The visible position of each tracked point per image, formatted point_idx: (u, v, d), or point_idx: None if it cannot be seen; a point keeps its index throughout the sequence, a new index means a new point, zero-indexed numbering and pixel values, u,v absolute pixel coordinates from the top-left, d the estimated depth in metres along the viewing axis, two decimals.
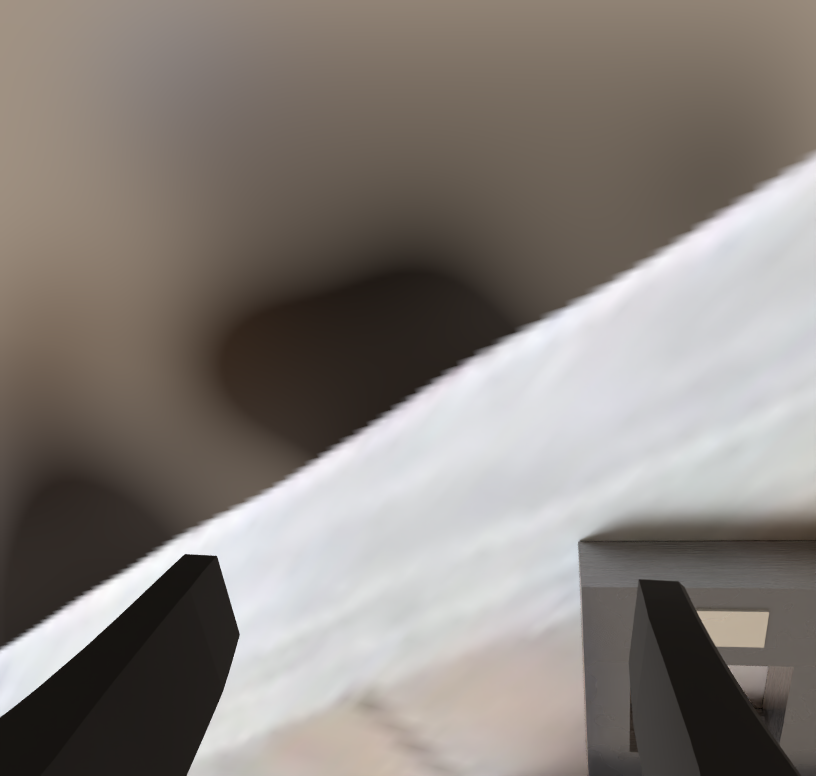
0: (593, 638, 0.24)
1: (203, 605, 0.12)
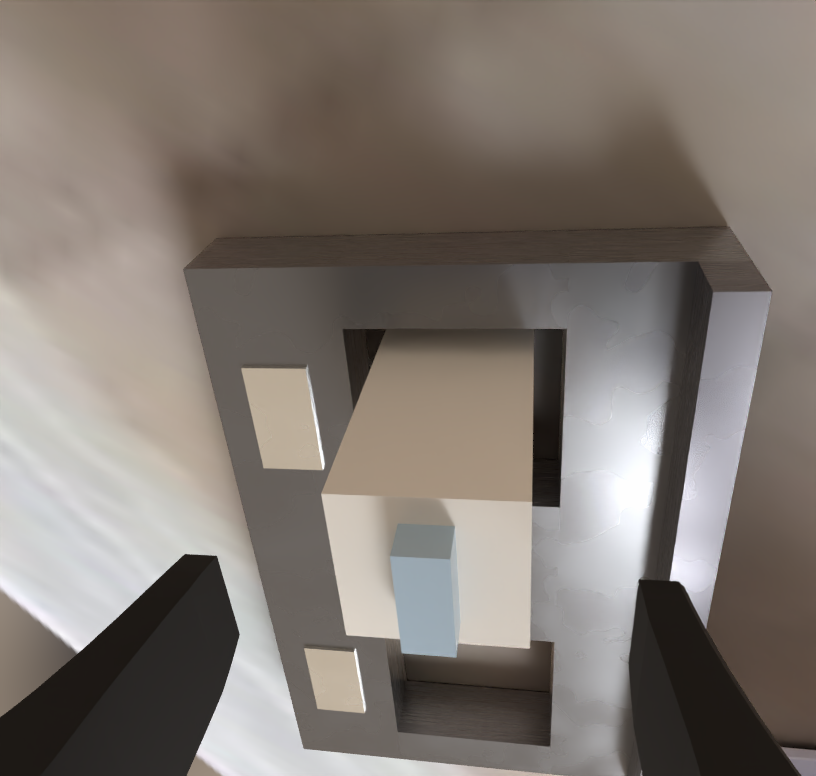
0: (368, 749, 0.25)
1: (203, 605, 0.12)
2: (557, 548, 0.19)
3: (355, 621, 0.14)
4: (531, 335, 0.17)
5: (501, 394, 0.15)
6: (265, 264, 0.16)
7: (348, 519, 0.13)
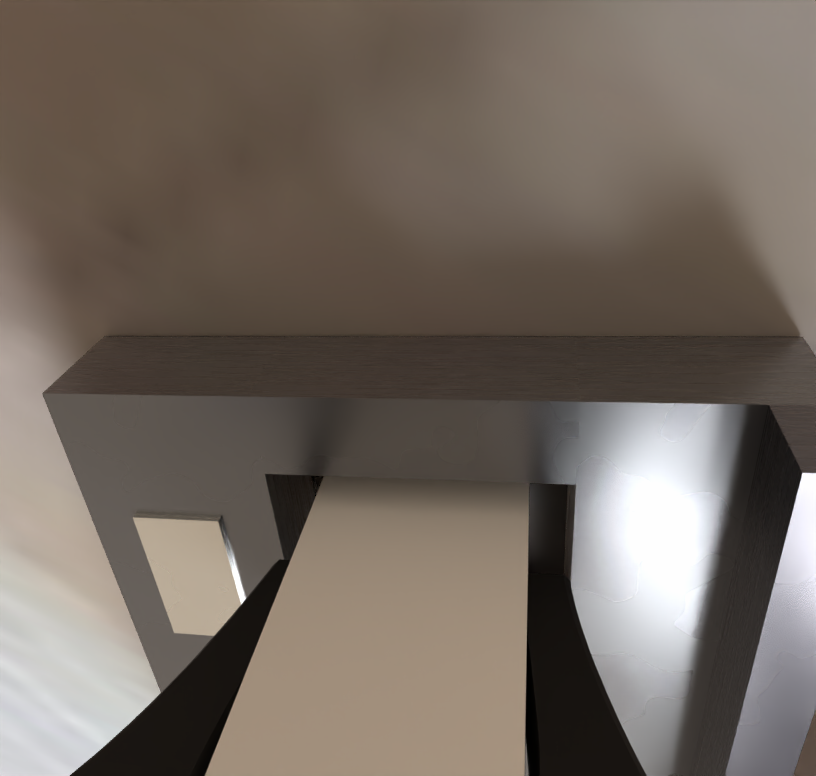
0: None
1: None
2: None
3: None
4: None
5: (481, 591, 0.10)
6: (156, 387, 0.12)
7: None
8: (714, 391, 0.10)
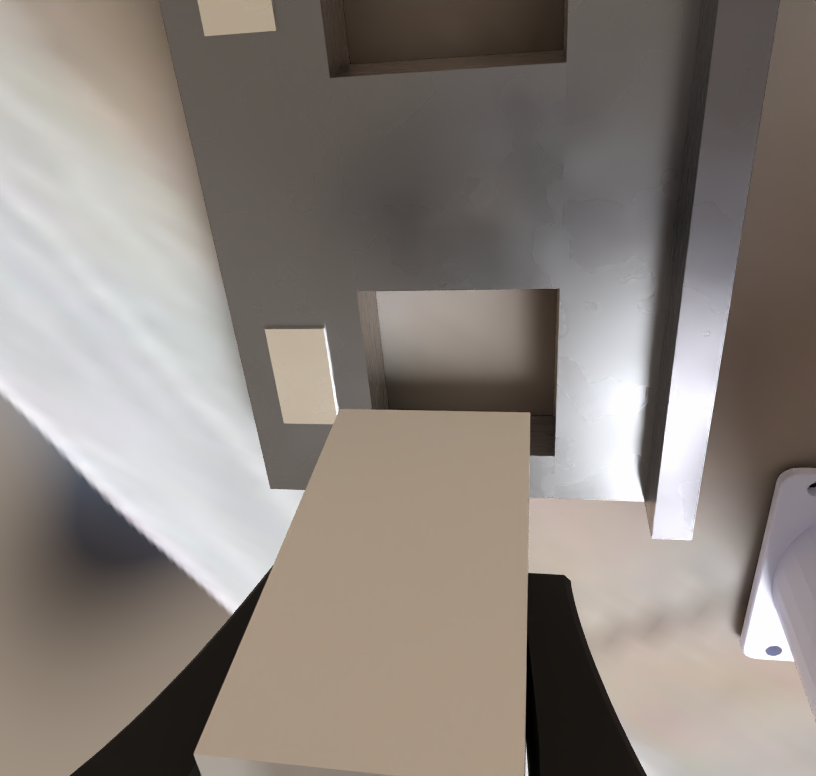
0: None
1: None
2: (563, 132, 0.15)
3: None
4: (525, 443, 0.12)
5: (482, 550, 0.10)
6: None
7: None
8: None
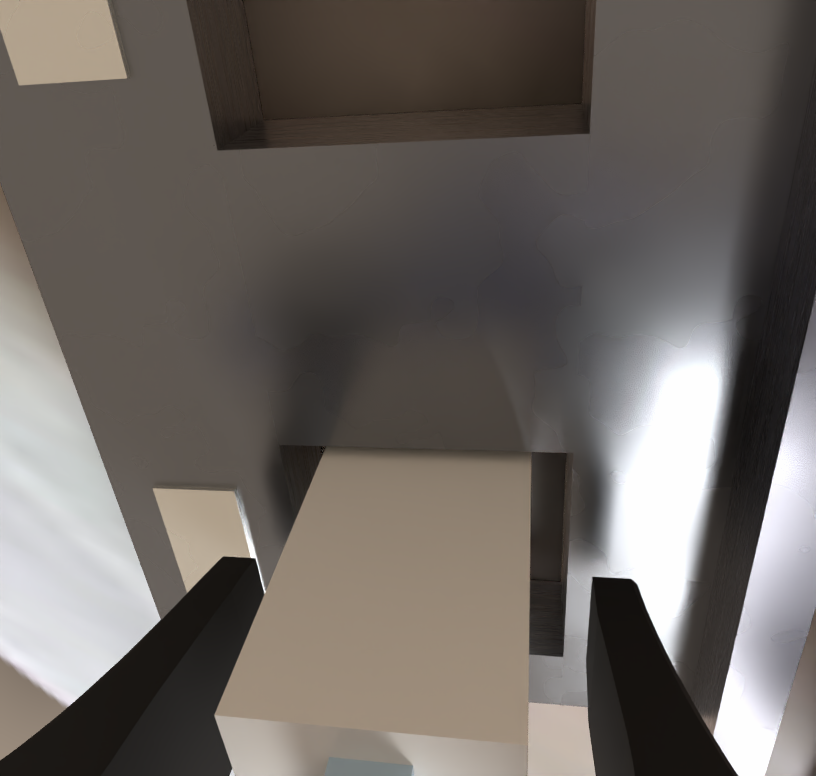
0: None
1: (243, 607, 0.12)
2: (582, 239, 0.10)
3: None
4: None
5: (486, 528, 0.11)
6: None
7: (257, 747, 0.09)
8: None
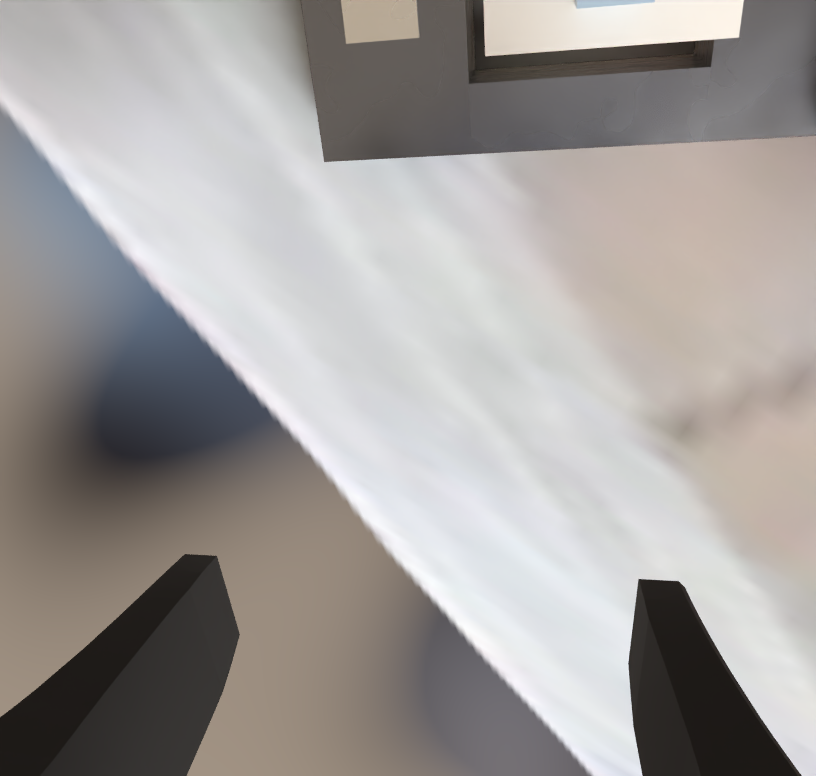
0: (422, 141, 0.17)
1: (202, 605, 0.12)
2: None
3: (500, 24, 0.11)
4: None
5: None
6: None
7: None
8: None
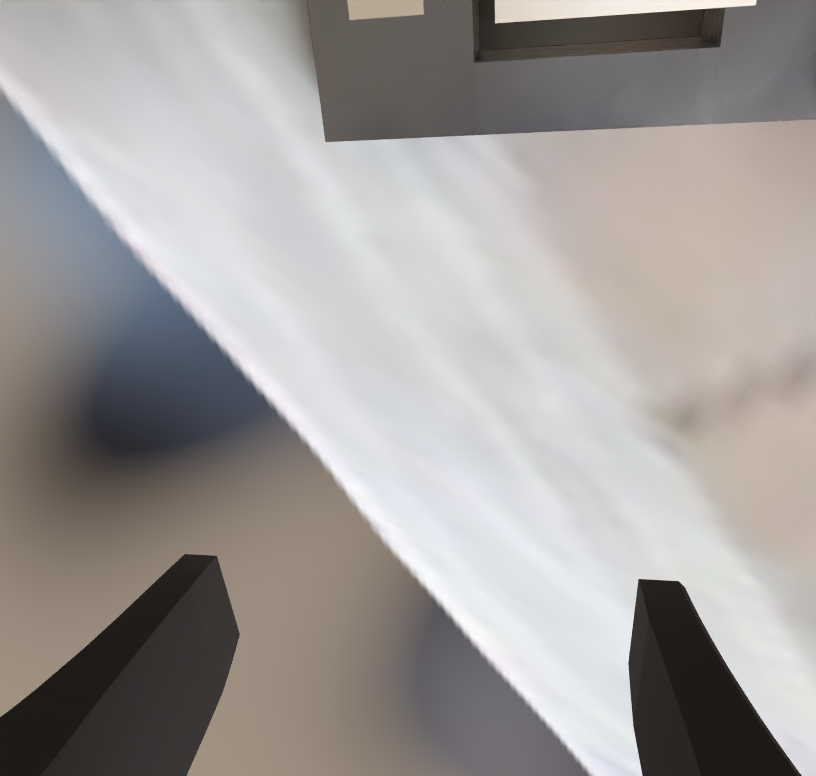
0: (425, 122, 0.16)
1: (202, 605, 0.12)
2: None
3: None
4: None
5: None
6: None
7: None
8: None
